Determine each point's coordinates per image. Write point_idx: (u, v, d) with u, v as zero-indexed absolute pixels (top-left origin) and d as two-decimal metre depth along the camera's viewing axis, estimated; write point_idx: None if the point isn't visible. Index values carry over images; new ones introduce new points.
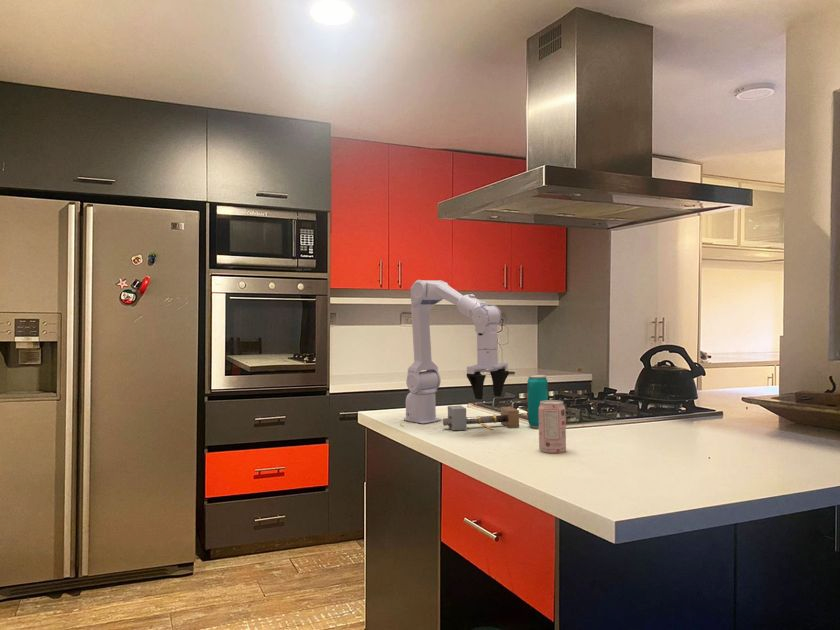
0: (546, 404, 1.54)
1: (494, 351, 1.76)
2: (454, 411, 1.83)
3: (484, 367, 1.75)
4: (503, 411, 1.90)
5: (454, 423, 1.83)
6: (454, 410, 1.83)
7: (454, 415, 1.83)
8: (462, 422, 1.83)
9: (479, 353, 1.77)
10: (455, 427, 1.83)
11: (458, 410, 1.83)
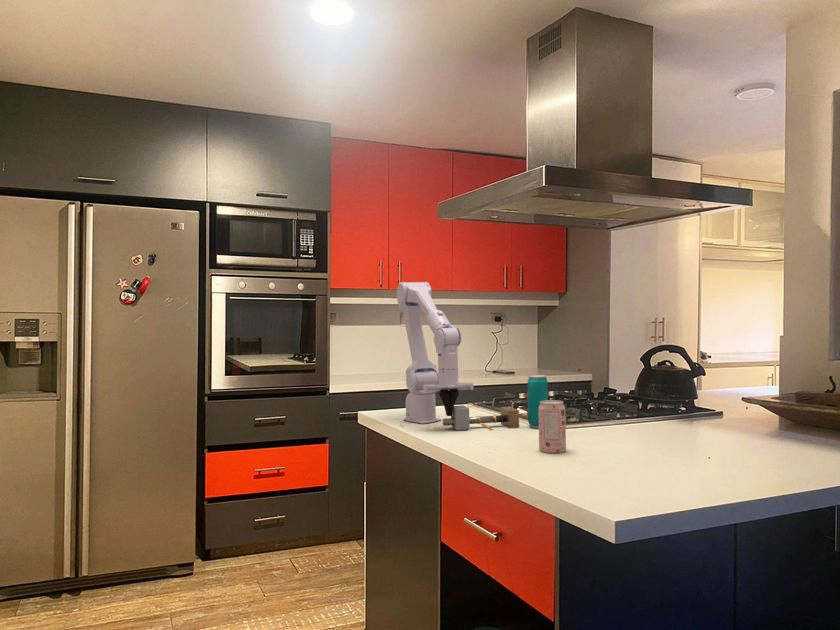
0: (546, 404, 1.54)
1: (449, 371, 1.83)
2: (457, 411, 1.83)
3: (438, 386, 1.83)
4: (503, 411, 1.90)
5: (457, 423, 1.83)
6: (457, 410, 1.83)
7: (457, 415, 1.83)
8: (465, 422, 1.84)
9: (438, 372, 1.85)
10: (458, 427, 1.83)
11: (461, 410, 1.83)
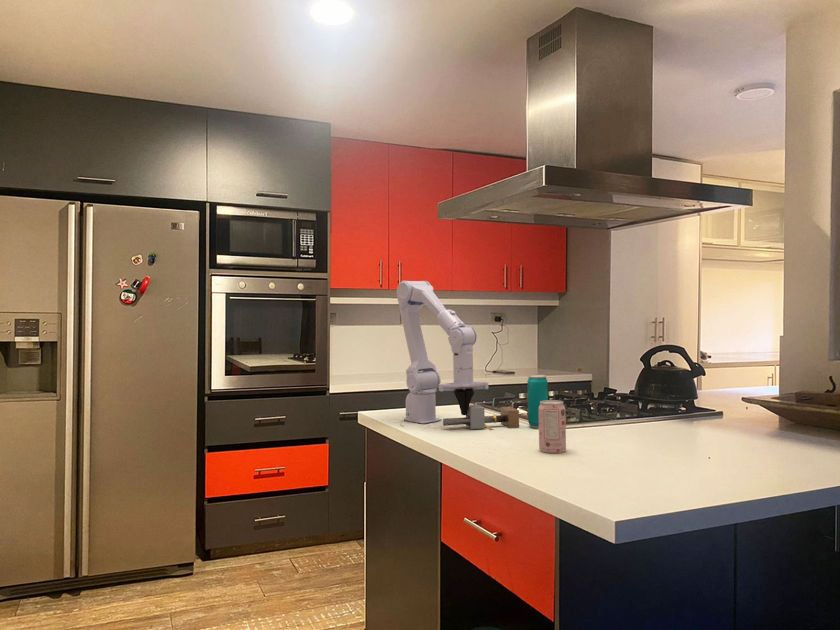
0: (546, 404, 1.54)
1: (465, 371, 1.84)
2: (472, 410, 1.84)
3: (453, 385, 1.84)
4: (503, 411, 1.90)
5: (472, 422, 1.84)
6: (472, 409, 1.84)
7: (472, 414, 1.84)
8: (480, 421, 1.85)
9: None
10: (473, 426, 1.84)
11: (476, 409, 1.84)
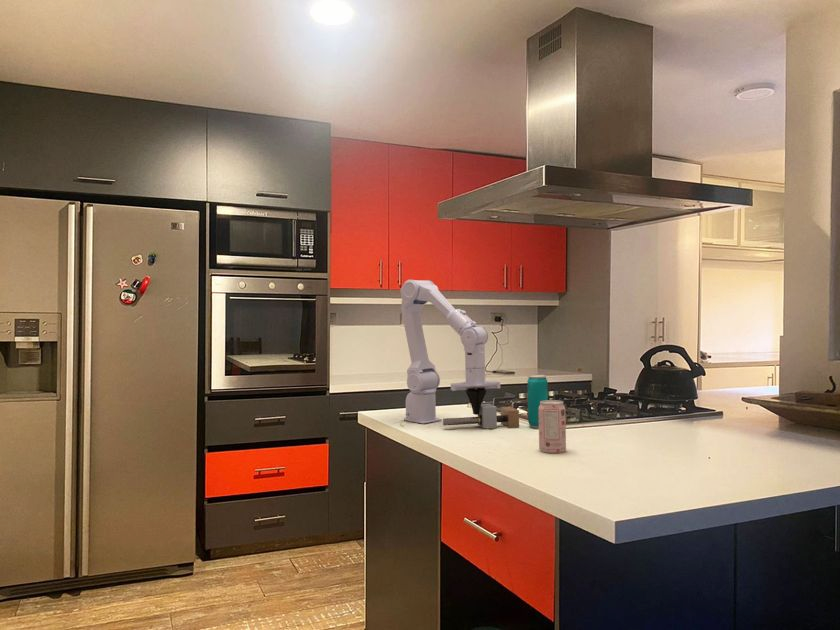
0: (546, 404, 1.54)
1: (477, 370, 1.84)
2: (484, 409, 1.85)
3: (466, 385, 1.85)
4: (503, 411, 1.90)
5: (484, 421, 1.85)
6: (484, 408, 1.85)
7: (484, 413, 1.85)
8: (492, 420, 1.85)
9: None
10: (485, 425, 1.85)
11: (488, 408, 1.85)
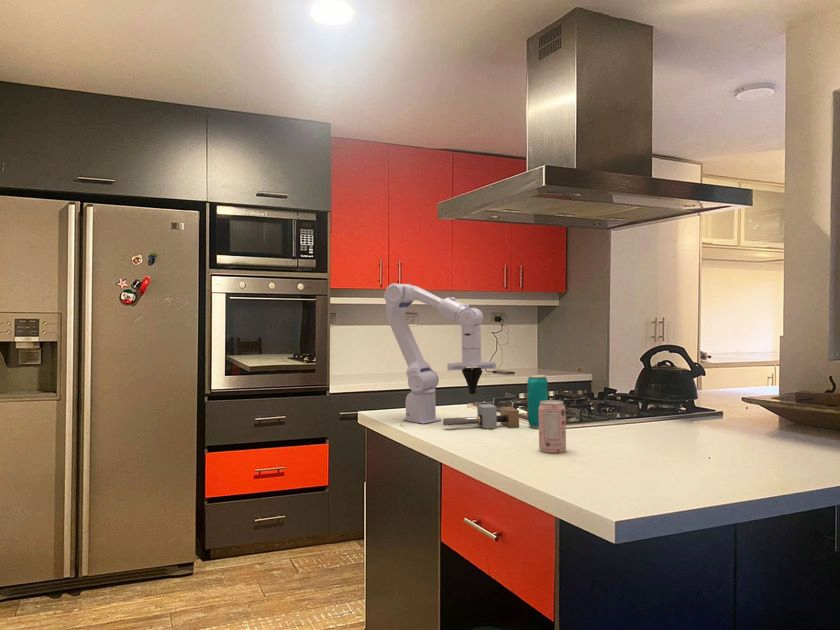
0: (546, 404, 1.54)
1: (473, 350, 1.89)
2: (484, 409, 1.85)
3: (462, 365, 1.89)
4: (503, 411, 1.90)
5: (484, 421, 1.85)
6: (484, 408, 1.85)
7: (484, 413, 1.85)
8: (492, 420, 1.85)
9: (462, 352, 1.92)
10: (485, 425, 1.85)
11: (488, 408, 1.85)
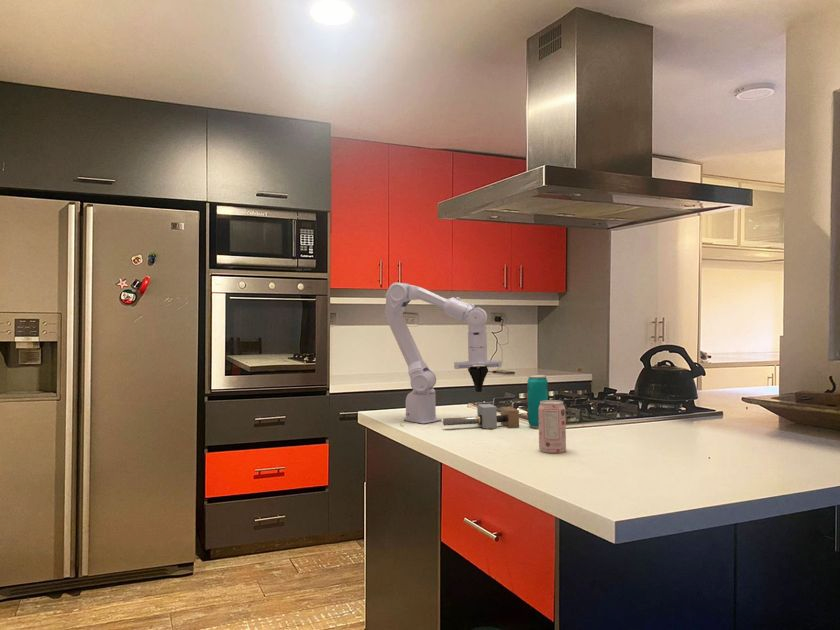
0: (546, 404, 1.54)
1: (479, 349, 1.93)
2: (484, 409, 1.85)
3: (468, 363, 1.93)
4: (503, 411, 1.90)
5: (484, 421, 1.85)
6: (484, 408, 1.85)
7: (484, 413, 1.85)
8: (492, 420, 1.85)
9: (468, 350, 1.95)
10: (485, 425, 1.85)
11: (488, 408, 1.85)
